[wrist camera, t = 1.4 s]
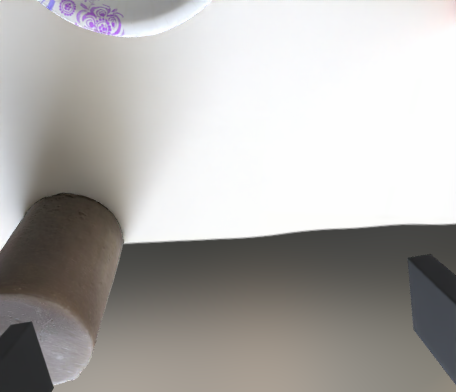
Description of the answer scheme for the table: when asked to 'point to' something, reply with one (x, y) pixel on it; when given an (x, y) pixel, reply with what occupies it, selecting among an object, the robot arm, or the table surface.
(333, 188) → the table surface
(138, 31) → the paper bowls
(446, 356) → the robot arm
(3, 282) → the pillar candle
